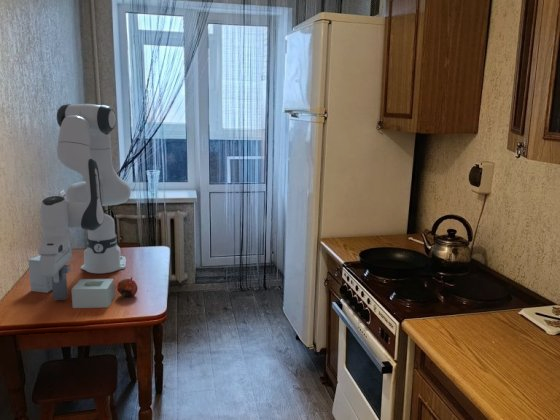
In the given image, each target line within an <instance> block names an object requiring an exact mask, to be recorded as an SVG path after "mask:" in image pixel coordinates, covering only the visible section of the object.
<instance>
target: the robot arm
mask: <svg viewBox="0 0 560 420" xmlns="http://www.w3.org/2000/svg"><path fill="white" fill-rule="evenodd" d="M56 122H57V125H58V126H59V127H60V129H59V132H58V139H57V147H56V148H57V149H56V154H57V158H58V160H59V163H61V164H62V165H64V167H66V168H68V169H70V170H72V171H75V173H76V172H77V173H78V174H80V175H81V176H82V177H83V178H84V181H79V182H78V181H77V182H75V183H71V184H70V185H69V186H68V187H67V190H66V194H65V196H66V198H65V197H63V196H61V195H52V196H48V197H45V198H44V199H42V201H41V205H40V224H41V227H42V233H41V238H42V239H41V243H40V245H39V247H38V249H37V252H38V255H41V256H40V264H41V271H42V274H43V276H45V277H52V276H53V280H54V282H59V281H60V276H59V274H58V273H59V270H60V269H61V268H62V267H63V266H64V265H68V264H67V263H69V262H70V261H71V259H72V257H73V251H72V244H71V234H70V233H71V232H70V230H69V229H79V230H80V229H81V230H85V231H87V238H86V244H87V246H86V249H85V250H84V251H83V262H84V264H82V265H81V266H80V270H83V271H86V272H87V273H90V274H108V273H113V272H116V271H120V270H124V269H126V267H127V264H126V263H127V259H126V256H123V255H121V253H122V251H121V248H120V246H119V245H118V238H117V234H116V224H115V220H114V217H112V216H111V215H110V214H107V213H105V212H104V207H106V206H116V205H117V206H118V205H121V204H125V203H127V202H128V201H129V199H130V197H131V187H130V186H129V184H128V182H127V181H125V180H124V179H122V178H121V177H120V176H119V175H118V173H117V172H116V170H115V168H114V165H113V164H114V163H113V155H112V154H113V153H112V140H111V139H112V138H111V133H110V132H112V131H113V130H114V129H115V127H116V122H117V116H116V113H115V111H114V109H113V108H112V107H111V106H110V105H109V106H108V105H105V104H101V105H100V104H95V103H94V104H93V103H80V104H79V103H75V104H72V103H66V104H63V105H60V107H59V108H58V109H57V111H56Z"/></svg>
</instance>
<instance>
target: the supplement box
mask: <svg viewBox="0 0 560 420" xmlns="http://www.w3.org/2000/svg"><path fill="white" fill-rule="evenodd" d="M40 256H41V255H40V254H38V256H35V257H32V258H30V259H28V270H29V271H28V272H29V283H30V292H37V293H49V292H51V291H53V289H52V277H45V276H43V274H42V271H41V264H40Z"/></svg>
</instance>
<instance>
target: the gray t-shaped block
mask: <svg viewBox="0 0 560 420" xmlns="http://www.w3.org/2000/svg"><path fill="white" fill-rule="evenodd" d="M70 272H71V265H70V264H65V265H64V266H63V267H62V268H61V269H60V270H59V273H58V274H59V276H60V281H59V282H54V280H53V276H52V289H53V290H52V299H53V300H56V301H57V300H60V301H61V300H62V301H63V300H66V299H67V298H68V296H69V295H68V294H69V293H68V284H67V283H68V282H67V274H69V273H70Z"/></svg>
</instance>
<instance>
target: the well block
mask: <svg viewBox="0 0 560 420" xmlns="http://www.w3.org/2000/svg"><path fill="white" fill-rule="evenodd" d="M115 297H116V295H115V279H114V278H80V279H79V280H78V281H77V282H76V283H75V285H74V286H73V287H72V288H71V301H72V303H71V304H72V309H93V308H95V309H97V308H101V309H102V308H103V309H104V308H109V306H110V305H111V304H112V302H113V301H114V298H115Z"/></svg>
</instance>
